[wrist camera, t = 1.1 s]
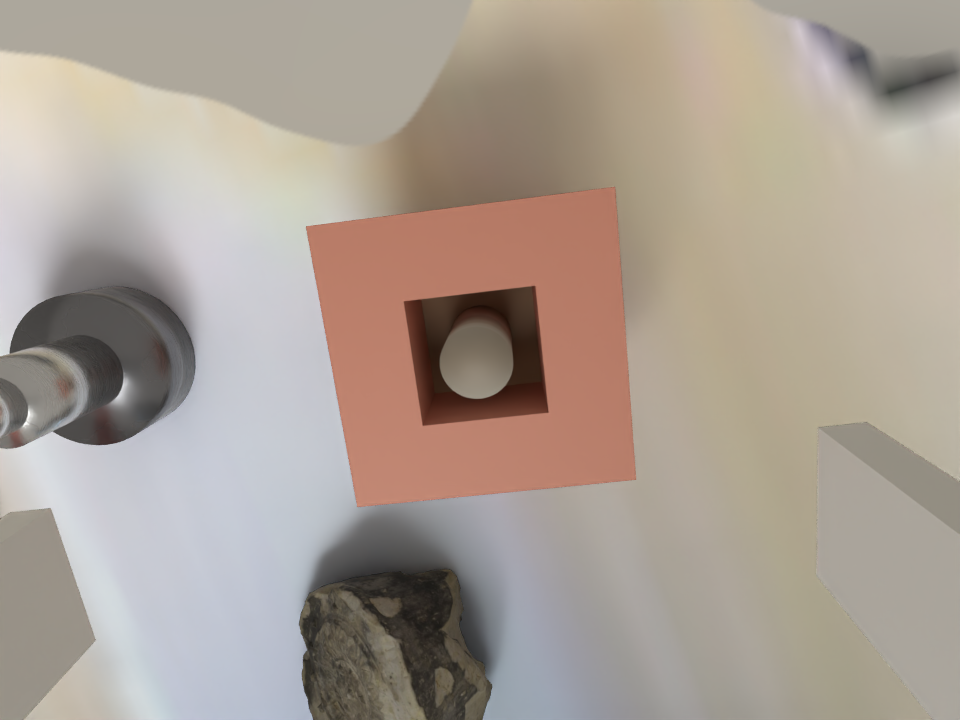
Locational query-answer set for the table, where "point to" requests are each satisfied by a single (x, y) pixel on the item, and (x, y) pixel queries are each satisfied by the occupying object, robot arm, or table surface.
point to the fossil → (390, 650)
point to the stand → (482, 341)
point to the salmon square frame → (516, 408)
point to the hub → (93, 368)
